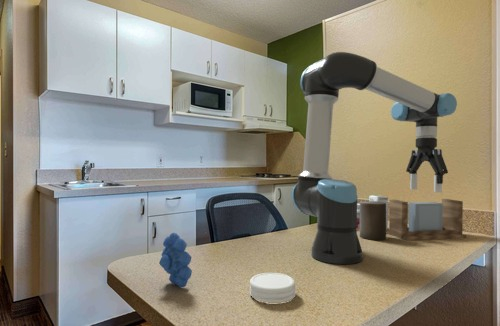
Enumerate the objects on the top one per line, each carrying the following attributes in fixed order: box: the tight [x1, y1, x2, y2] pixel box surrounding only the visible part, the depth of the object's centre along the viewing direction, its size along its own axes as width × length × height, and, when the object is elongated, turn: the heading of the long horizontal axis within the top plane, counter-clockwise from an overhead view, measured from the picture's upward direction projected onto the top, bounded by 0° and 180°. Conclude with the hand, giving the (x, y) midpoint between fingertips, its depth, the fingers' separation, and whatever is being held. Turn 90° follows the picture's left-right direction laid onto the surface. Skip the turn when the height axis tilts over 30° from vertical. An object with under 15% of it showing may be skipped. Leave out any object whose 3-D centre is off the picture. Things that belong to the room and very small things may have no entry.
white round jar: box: [249, 272, 296, 303], centre depth 69 cm, size 10×10×4 cm
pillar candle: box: [359, 200, 387, 241], centre depth 123 cm, size 10×10×15 cm
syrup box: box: [368, 194, 389, 231], centre depth 138 cm, size 6×6×14 cm
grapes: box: [158, 232, 193, 288], centre depth 74 cm, size 12×7×12 cm, turn 41°
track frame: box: [386, 198, 467, 241], centre depth 127 cm, size 26×12×14 cm, turn 99°
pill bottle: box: [357, 203, 360, 232], centre depth 137 cm, size 6×6×11 cm
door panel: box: [408, 201, 443, 231], centre depth 127 cm, size 12×4×12 cm, turn 99°
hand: (425, 190), depth 126 cm, fingers open, 13 cm apart
